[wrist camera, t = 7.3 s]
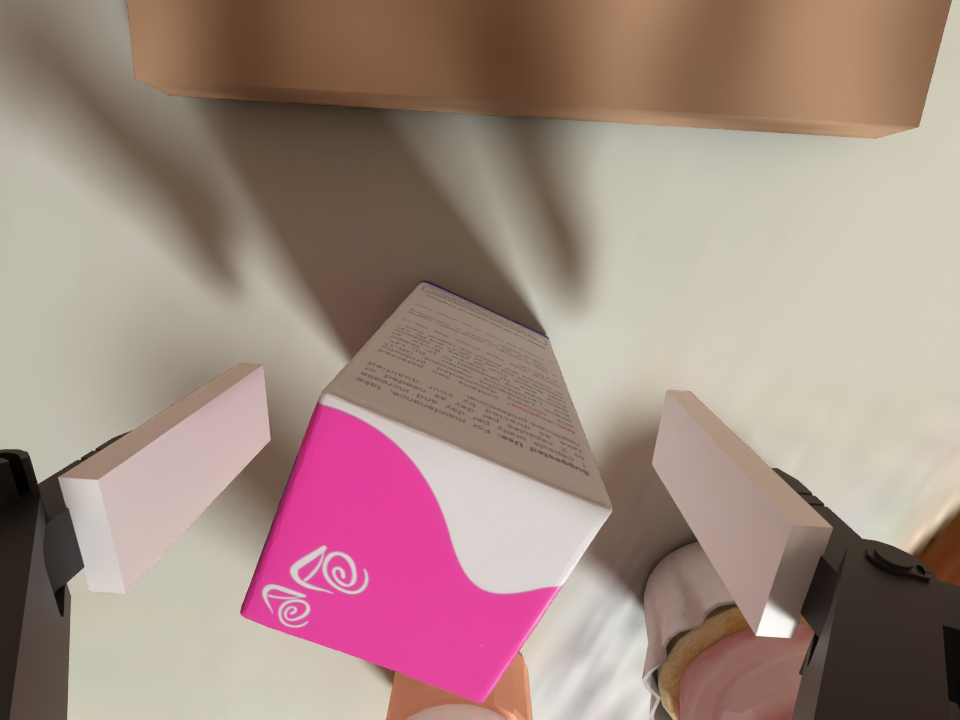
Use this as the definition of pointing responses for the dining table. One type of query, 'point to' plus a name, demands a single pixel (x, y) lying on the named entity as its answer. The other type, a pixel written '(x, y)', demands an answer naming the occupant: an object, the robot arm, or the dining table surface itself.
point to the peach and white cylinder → (462, 699)
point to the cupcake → (713, 649)
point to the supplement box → (433, 499)
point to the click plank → (560, 58)
